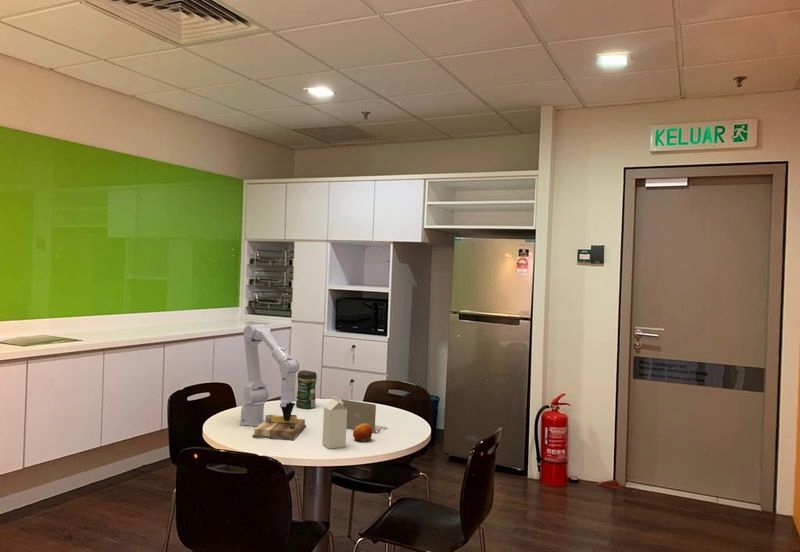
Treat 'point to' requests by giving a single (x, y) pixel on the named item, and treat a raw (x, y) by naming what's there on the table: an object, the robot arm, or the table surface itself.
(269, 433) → the wooden board with knob
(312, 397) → the coffee jar
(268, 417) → the bar
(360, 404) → the laptop
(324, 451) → the table surface
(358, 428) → the fruit
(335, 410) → the milk carton
